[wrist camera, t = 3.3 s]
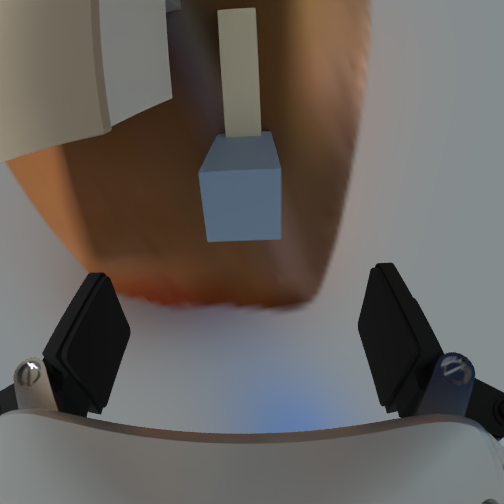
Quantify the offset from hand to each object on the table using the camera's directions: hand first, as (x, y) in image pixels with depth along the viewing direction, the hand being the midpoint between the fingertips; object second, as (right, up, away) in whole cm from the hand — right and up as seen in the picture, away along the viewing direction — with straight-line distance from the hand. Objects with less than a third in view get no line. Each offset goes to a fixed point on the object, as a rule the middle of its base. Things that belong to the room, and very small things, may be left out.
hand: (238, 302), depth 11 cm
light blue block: (0, +13, +10) cm, 16 cm away
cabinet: (-11, +17, +7) cm, 21 cm away
